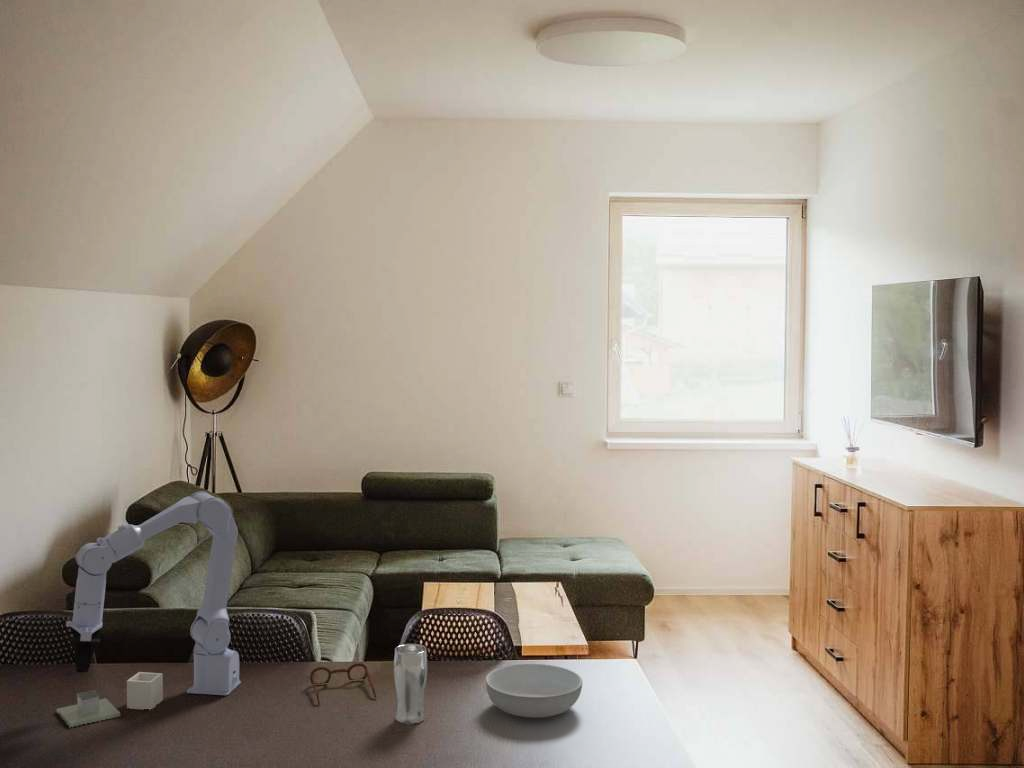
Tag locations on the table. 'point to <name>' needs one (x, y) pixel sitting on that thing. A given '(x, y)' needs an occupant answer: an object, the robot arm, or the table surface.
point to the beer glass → (410, 682)
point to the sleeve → (144, 690)
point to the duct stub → (88, 710)
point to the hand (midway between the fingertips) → (82, 666)
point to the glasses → (340, 671)
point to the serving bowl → (533, 689)
